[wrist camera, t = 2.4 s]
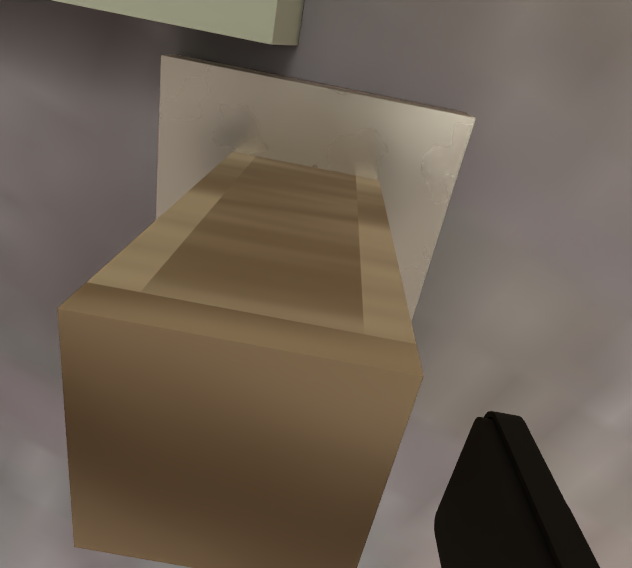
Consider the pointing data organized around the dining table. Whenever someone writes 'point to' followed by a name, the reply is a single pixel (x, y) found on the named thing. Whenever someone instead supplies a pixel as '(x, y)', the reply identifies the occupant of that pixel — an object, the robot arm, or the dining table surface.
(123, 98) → the dining table surface
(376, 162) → the stud plate
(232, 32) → the bin
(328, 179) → the strut
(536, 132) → the dining table surface
